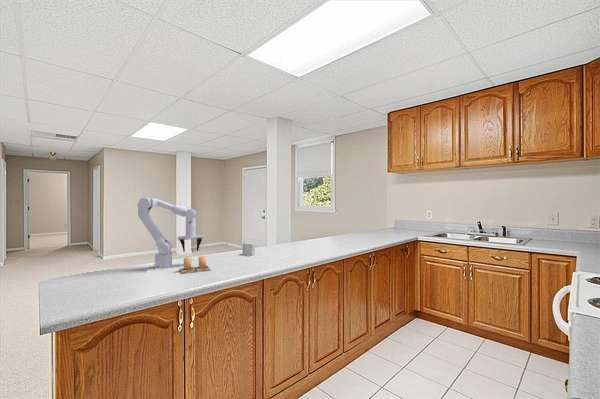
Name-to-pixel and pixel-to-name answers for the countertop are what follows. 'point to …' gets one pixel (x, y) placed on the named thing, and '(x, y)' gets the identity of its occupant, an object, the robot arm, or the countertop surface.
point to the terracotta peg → (202, 262)
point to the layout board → (194, 270)
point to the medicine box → (248, 249)
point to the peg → (187, 264)
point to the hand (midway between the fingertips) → (190, 251)
